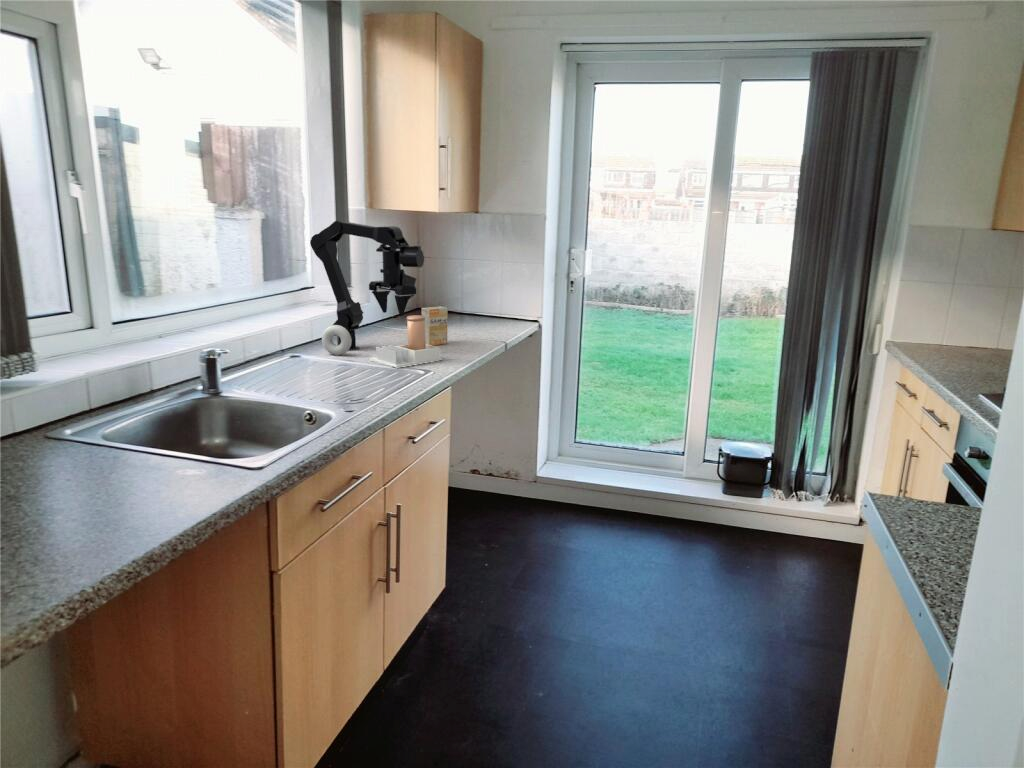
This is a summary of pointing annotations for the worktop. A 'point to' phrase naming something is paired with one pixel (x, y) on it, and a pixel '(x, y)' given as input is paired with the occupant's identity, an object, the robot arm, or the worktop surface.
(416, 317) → the tumbler
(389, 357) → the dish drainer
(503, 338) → the worktop surface
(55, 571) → the worktop surface
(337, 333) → the donut
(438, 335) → the supplement box
